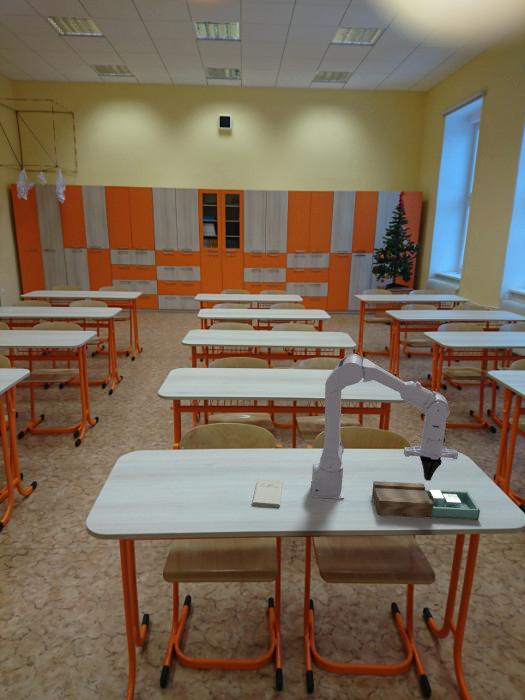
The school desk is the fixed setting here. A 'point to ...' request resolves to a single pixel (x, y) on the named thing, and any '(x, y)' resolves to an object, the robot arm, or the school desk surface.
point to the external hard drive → (268, 493)
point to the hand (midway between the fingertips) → (427, 478)
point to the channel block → (402, 499)
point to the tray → (464, 512)
